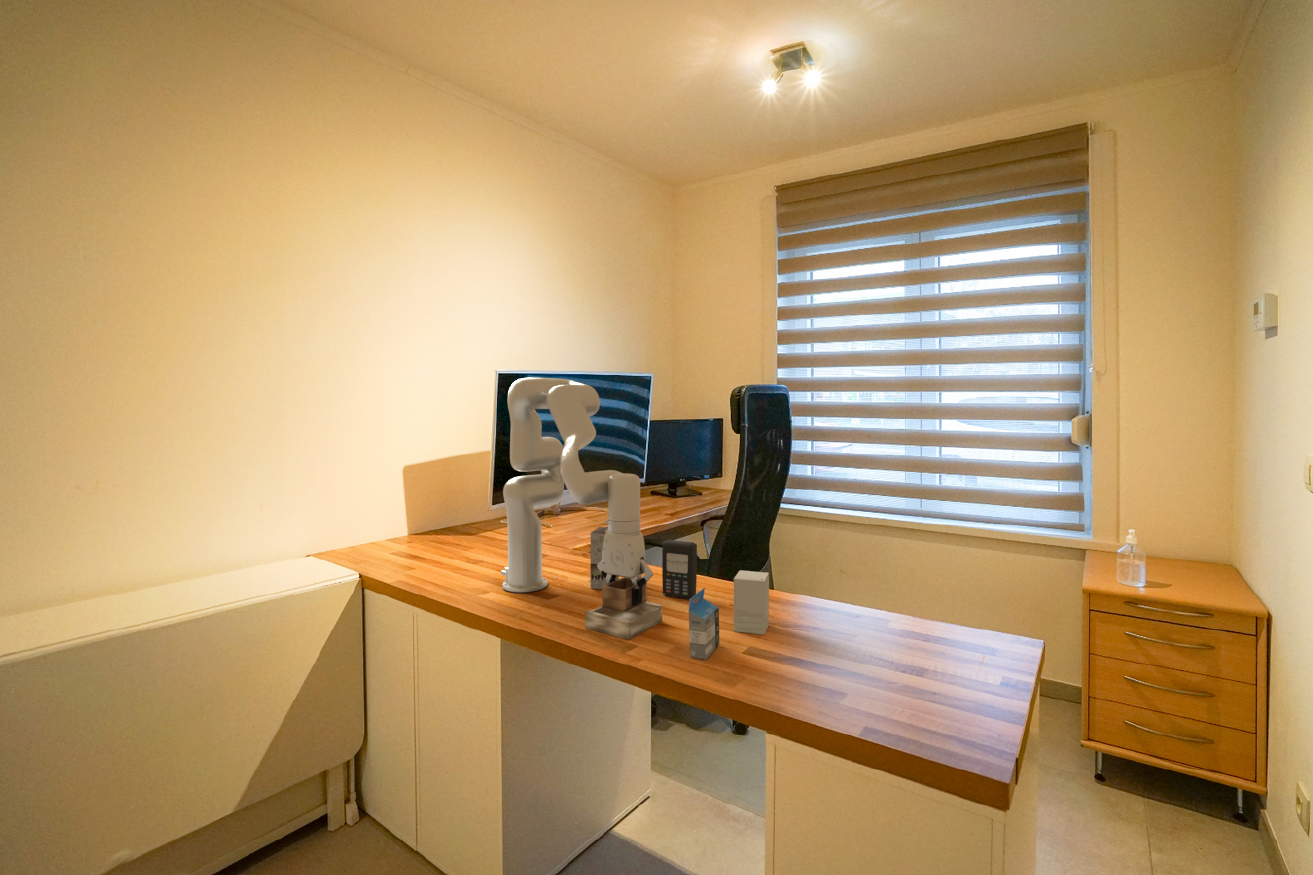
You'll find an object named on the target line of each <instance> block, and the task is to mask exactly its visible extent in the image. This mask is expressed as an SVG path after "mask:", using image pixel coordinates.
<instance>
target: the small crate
mask: <svg viewBox="0 0 1313 875" xmlns="http://www.w3.org/2000/svg"><path fill="white" fill-rule="evenodd" d="M637 581H638V579H637ZM647 584H648V582H647V583H646V584H645V585H644V586H643V587H642V602H641V603H640V604H638V605H641V604H643V603H645V602H648V601H647V600H648V599H647V598H648V597H647V596H648V591H647V589H648V588H647V587H648V586H647ZM633 588H634V586H633V583H632V580H631V578H627V577H622V578H619V580H616V581H614V582H611V583H609V584H606V585H604V586H602V589H601V592H602V593H601V596H602V598H601V601H602V604H601V606H602V607H604V608H608V609H612V610H617V611H621V612H626V611H628V610H630V609H632V608H634V607H636V606H638V605H636V606H633V605H632V589H633Z"/></svg>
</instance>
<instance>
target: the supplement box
mask: <svg viewBox="0 0 1313 875" xmlns="http://www.w3.org/2000/svg"><path fill="white" fill-rule="evenodd" d="M769 625H770V572H762V571H751V570H742V569H741V570H739V571H738V572H737V573H736V575H735V576H734V578H733V631H734V632H739V633H747V634H754V635H763V636H764V635H765V634H766V633H767V630H768V627H769Z"/></svg>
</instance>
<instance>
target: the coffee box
mask: <svg viewBox="0 0 1313 875" xmlns="http://www.w3.org/2000/svg"><path fill="white" fill-rule="evenodd" d="M606 531H608V526H598V527H597V528H595V529H594V530H593V531H591V532H590V581H589V582H590V586H589V587H590V589H595V590H597V589H598V590H602V586H604V585H606V584H607V583H606V582H605V578H604V577H603V575H602V573H601V571H600V570H599V568H598V567H597V564H598V563H599V562H600V561H601V560H602V551H603V542H604V537H605V533H606ZM619 579H620V576H617V577H616V580H619ZM616 580H615V581H616Z"/></svg>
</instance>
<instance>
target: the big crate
mask: <svg viewBox="0 0 1313 875" xmlns="http://www.w3.org/2000/svg"><path fill="white" fill-rule="evenodd" d="M584 616H585V617H584V620H585V621H584V622H585V623H584V625H585V626H584V628H585V629H587V630H588V629H589V630H592V631H595V632H599V633H603V634H606V635H610V636H613V637H618V638H621V639H624V640H627V641H630V640H632V639H633V638H635V637H636V636H638V635H640V634H642V633H644V632H645V631H648V630H649V629H651V628H652V627H654V626H656V625H659V623H661V622H663V604H660V603H654V602H649V601H647V602H645V603H643V604H641V605H638V606H636V607H634V608H632V609H630V610H628V611H626V612H621V611H617V610H612V609H608V608H604V607H602V605H601V606H600V605H599V606H598V607H596V608H594V609H592V610H588V609H587V610H585V611H584Z"/></svg>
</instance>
